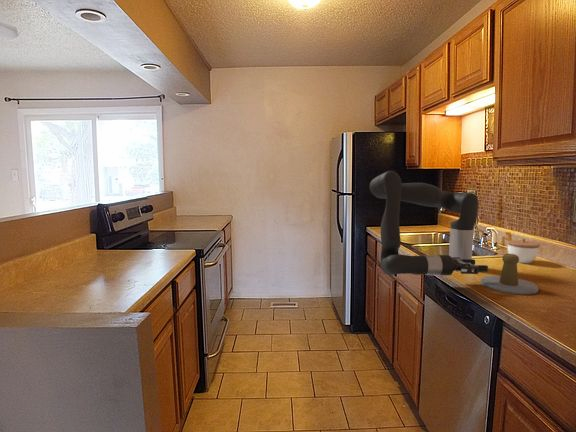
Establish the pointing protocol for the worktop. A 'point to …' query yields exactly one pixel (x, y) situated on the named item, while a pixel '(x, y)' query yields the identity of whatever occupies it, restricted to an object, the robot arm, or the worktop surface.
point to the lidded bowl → (523, 250)
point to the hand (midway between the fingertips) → (480, 265)
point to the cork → (509, 270)
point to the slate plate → (521, 288)
